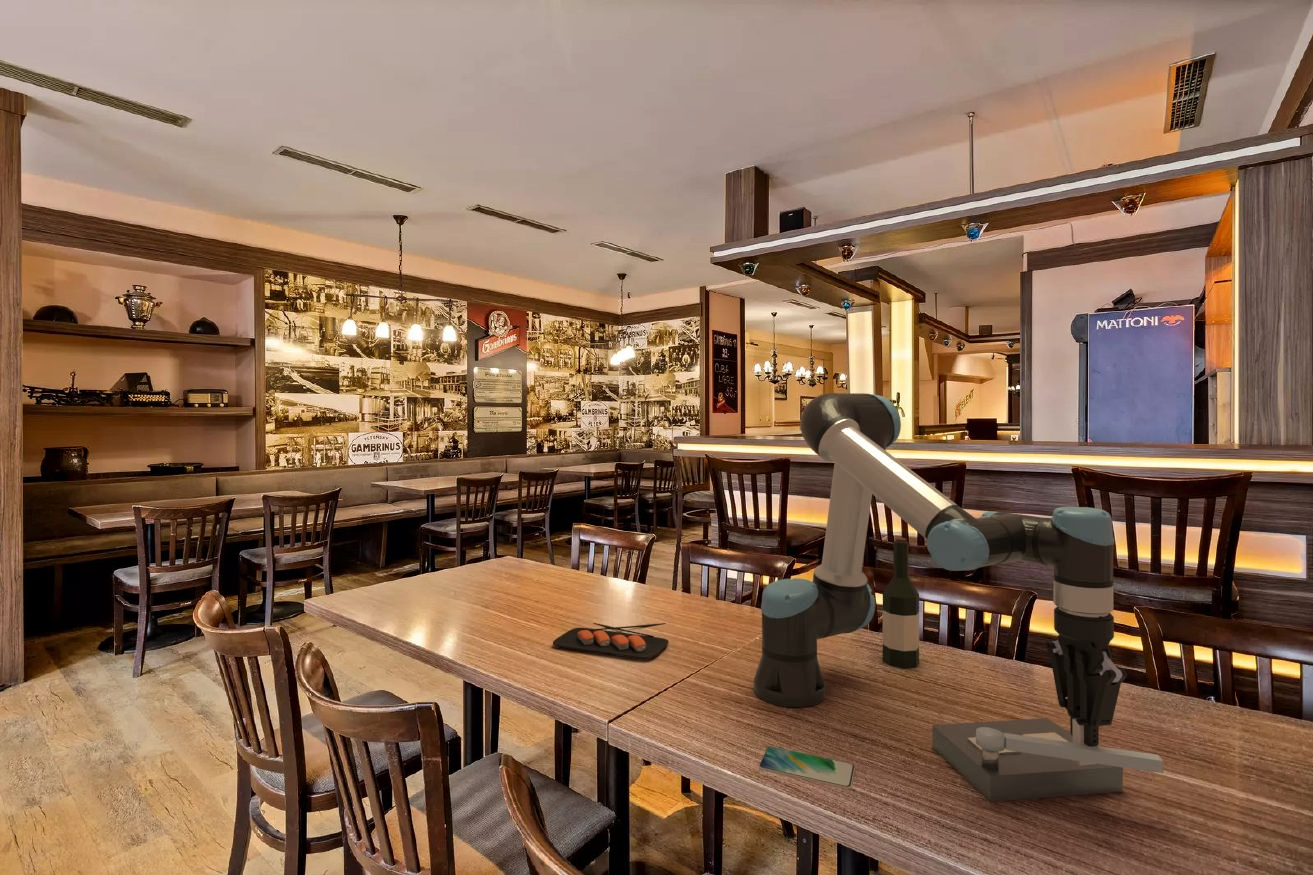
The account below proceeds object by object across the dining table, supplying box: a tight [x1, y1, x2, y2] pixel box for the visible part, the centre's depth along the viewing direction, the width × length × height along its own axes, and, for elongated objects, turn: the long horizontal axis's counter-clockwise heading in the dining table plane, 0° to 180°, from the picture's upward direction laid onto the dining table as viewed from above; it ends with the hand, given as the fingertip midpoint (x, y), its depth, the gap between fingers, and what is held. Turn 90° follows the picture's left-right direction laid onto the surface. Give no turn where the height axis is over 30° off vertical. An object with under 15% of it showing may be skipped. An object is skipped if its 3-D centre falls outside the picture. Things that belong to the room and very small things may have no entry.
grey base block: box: [932, 717, 1124, 803], centre depth 103 cm, size 22×16×7 cm
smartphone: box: [758, 746, 856, 790], centre depth 103 cm, size 7×1×15 cm
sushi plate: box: [552, 622, 670, 660], centre depth 168 cm, size 29×30×4 cm
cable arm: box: [976, 727, 1164, 774], centre depth 93 cm, size 24×4×2 cm, turn 70°
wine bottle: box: [882, 537, 920, 670], centre depth 148 cm, size 8×8×30 cm
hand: (1084, 762), depth 94 cm, fingers closed
